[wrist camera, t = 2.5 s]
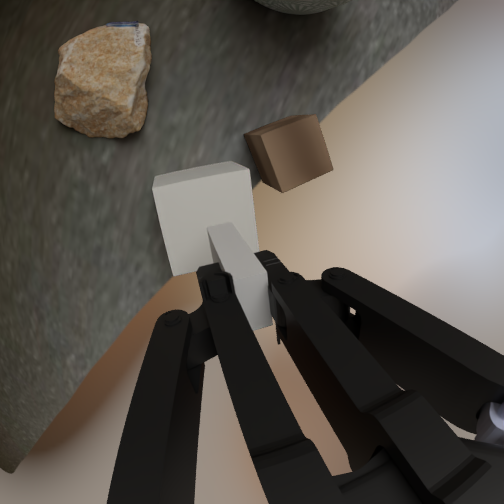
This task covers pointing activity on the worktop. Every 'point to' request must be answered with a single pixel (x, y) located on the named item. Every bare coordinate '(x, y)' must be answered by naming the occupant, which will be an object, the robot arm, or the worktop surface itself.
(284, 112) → the worktop surface
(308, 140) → the walnut block
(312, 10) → the planter
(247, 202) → the block
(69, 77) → the stone
